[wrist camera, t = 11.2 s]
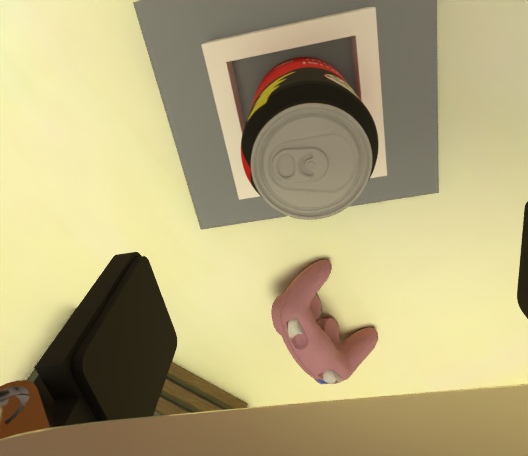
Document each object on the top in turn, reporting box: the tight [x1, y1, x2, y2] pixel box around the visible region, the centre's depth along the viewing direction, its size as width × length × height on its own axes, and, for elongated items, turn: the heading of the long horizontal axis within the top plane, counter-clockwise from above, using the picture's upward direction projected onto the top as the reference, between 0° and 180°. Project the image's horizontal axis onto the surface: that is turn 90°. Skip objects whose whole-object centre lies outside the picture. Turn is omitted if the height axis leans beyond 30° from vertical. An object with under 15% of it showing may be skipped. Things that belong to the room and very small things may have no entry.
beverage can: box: [241, 57, 378, 220], centre depth 23 cm, size 6×6×12 cm
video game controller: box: [272, 260, 378, 384], centre depth 35 cm, size 10×5×7 cm, turn 33°
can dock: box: [133, 0, 439, 229], centre depth 28 cm, size 18×16×3 cm
